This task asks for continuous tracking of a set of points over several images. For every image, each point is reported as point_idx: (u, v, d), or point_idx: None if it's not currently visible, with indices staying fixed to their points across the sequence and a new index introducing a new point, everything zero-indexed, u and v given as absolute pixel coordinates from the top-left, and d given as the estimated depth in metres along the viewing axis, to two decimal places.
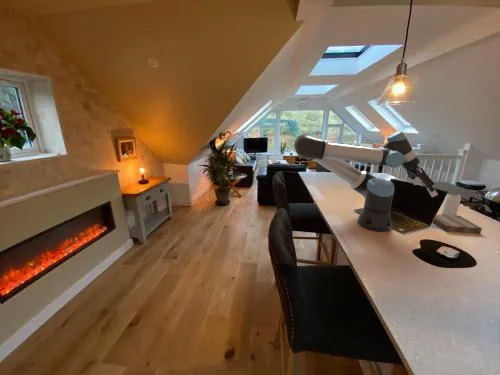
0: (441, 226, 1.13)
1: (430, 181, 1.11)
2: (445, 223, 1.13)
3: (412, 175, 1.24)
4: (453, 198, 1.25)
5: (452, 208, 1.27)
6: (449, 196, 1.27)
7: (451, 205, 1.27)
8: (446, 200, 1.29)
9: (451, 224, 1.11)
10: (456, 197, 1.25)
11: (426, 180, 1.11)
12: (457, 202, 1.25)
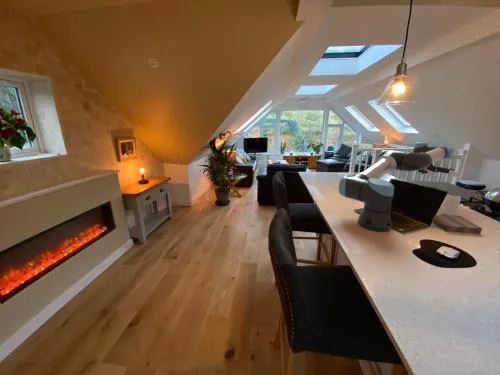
0: (441, 226, 1.13)
1: None
2: (445, 223, 1.13)
3: (426, 169, 1.46)
4: (453, 198, 1.25)
5: (452, 208, 1.27)
6: (449, 196, 1.27)
7: (451, 205, 1.27)
8: (446, 200, 1.29)
9: (451, 224, 1.11)
10: (456, 197, 1.25)
11: None
12: (457, 202, 1.25)
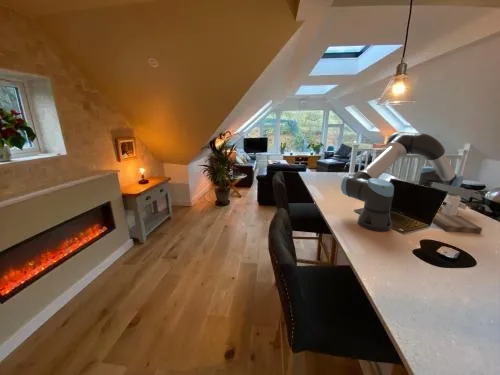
0: (441, 226, 1.13)
1: None
2: (445, 223, 1.13)
3: None
4: (453, 198, 1.25)
5: (452, 208, 1.27)
6: (449, 196, 1.27)
7: None
8: (446, 200, 1.29)
9: (451, 224, 1.11)
10: (456, 197, 1.25)
11: None
12: (457, 202, 1.25)
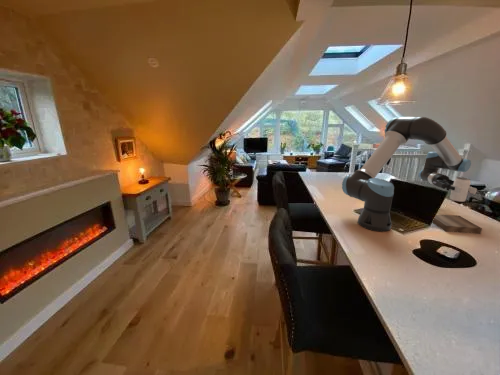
0: (441, 226, 1.13)
1: None
2: (445, 223, 1.13)
3: None
4: (463, 182, 1.17)
5: (461, 193, 1.18)
6: (458, 180, 1.19)
7: None
8: (455, 184, 1.20)
9: (451, 224, 1.11)
10: (466, 181, 1.17)
11: None
12: (467, 186, 1.17)
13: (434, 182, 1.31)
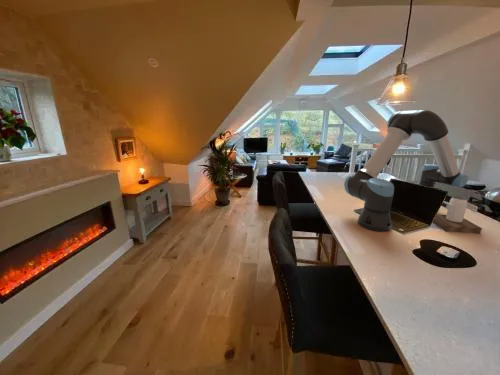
0: (441, 226, 1.13)
1: None
2: (445, 223, 1.13)
3: None
4: (459, 202, 1.10)
5: (458, 213, 1.12)
6: (454, 199, 1.12)
7: (457, 210, 1.11)
8: (451, 204, 1.14)
9: (451, 224, 1.11)
10: (462, 201, 1.10)
11: None
12: (463, 206, 1.10)
13: None
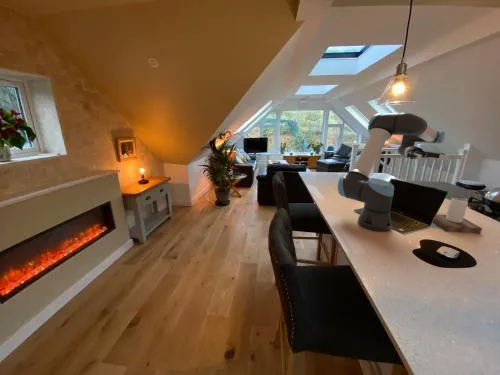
0: (441, 226, 1.13)
1: None
2: (445, 223, 1.13)
3: (415, 153, 1.36)
4: (459, 203, 1.10)
5: (458, 214, 1.11)
6: (454, 200, 1.12)
7: (457, 210, 1.11)
8: (451, 204, 1.13)
9: (451, 224, 1.11)
10: (462, 201, 1.10)
11: None
12: (463, 207, 1.10)
13: (406, 153, 1.42)
